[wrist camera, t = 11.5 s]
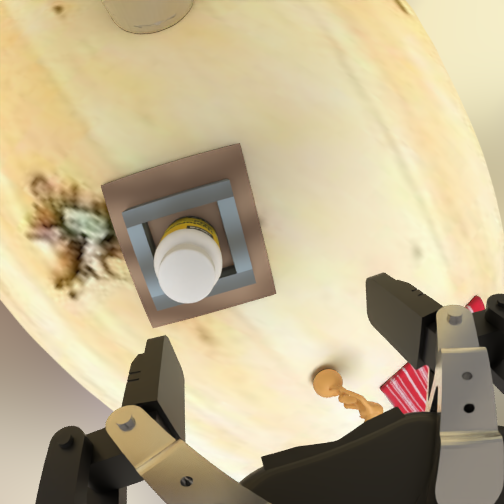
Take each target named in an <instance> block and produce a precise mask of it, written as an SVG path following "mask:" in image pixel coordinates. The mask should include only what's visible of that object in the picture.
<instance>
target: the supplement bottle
mask: <svg viewBox="0 0 504 504" xmlns="http://www.w3.org/2000/svg"><path fill="white" fill-rule="evenodd" d="M154 269H155V273H156V276H157V278H158V281H159V284H160V287H161V289H162V290H163V292H164V293H165V294H166V295H167V296H168V297H169V298H171V299H172V300H174V301H177V302H180V303H195V302H198V301H200V300H202V299H203V298H205V297H206V296H207V295H208V294H209V293H210V292H211V290H212V289H213V286H214V285H215V284H216V283H217V281H218V279H219V277H220V275H221V271H222V255H221V250H220V245H219V241H218V237H217V233H216V231H215V230H214V228H213V227H212V225H211V224H210V223H209V222H207V221H206V220H204V219H202V218H200V217H197V216H184V217H181V218H179V219H177V220H175V221H174V222H172V223H171V224H170V225H169V227H168V228H167V230H166V231H165V233H164V235H163V237H162V239H161V241H160V243H159V245H158V247H157V249H156V252H155V255H154Z"/></svg>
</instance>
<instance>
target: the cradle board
mask: <svg viewBox="0 0 504 504" xmlns="http://www.w3.org/2000/svg"><path fill="white" fill-rule="evenodd" d="M101 188H102V191H103V195H104V198H105V201H106V205H107V208H108V211H109V214H110V218H111V221H112V224H113V227H114V230H115V233H116V236H117V239H118V241H119V244H120V247H121V250H122V253H123V256H124V258H125V261H126V264H127V266H128V269H129V272H130V274H131V277H132V279H133V282H134V285H135V287H136V290H137V292H138V294H139V297H140V299H141V302H142V304H143V307H144V309H145V311H146V314H147V316H148V318H149V321H150V323H151V325H152V327H153V328H156V327H159V326H163V325H167V324H171V323H175V322H179V321H182V320H186V319H190V318H194V317H197V316H201V315H205V314H208V313H212V312H215V311H219V310H222V309H226V308H229V307H233V306H236V305H240V304H243V303H247V302H250V301H254V300H257V299H260V298H264V297H267V296H270V295H274V294H276V290H275V286H274V281H273V277H272V273H271V269H270V264H269V260H268V256H267V252H266V248H265V244H264V239H263V235H262V231H261V227H260V223H259V219H258V215H257V210H256V206H255V202H254V198H253V194H252V190H251V186H250V182H249V178H248V174H247V170H246V166H245V162H244V158H243V154H242V150H241V146H240V143H239V144H234V145H230V146H226V147H222V148H219V149H215V150H211V151H207V152H204V153H200V154H196V155H193V156H189V157H186V158H182V159H179V160H176V161H172V162H169V163H166V164H162V165H159V166H156V167H153V168H150V169H147V170H144V171H141V172H138V173H135V174H132V175H129V176H126V177H123V178H120V179H118V180H115V181H112V182H109V183H107V184H104V185H101ZM184 216H197V217H200V218H202V219H204V220H206V221H207V222H209V223H210V224H211V225H212V227H213V228H214V230H215V231H216V233H217V237H218V241H219V245H220V250H221V255H222V271H221V275H220V277H219V279H218V281H217V283H216V284H215V285H214V286H213V289H212V290H211V292H210V293H209V294H208V295H207V296H206V297H205V298H203V299H202V300H200V301H198V302H195V303H180V302H177V301H174V300H172V299H171V298H169V297H168V296H167V295H166V294H165V293H164V292H163V290H162V289H161V287H160V284H159V281H158V278H157V276H156V273H155V269H154V255H155V252H156V249H157V247H158V245H159V243H160V241H161V239H162V237H163V235H164V233H165V231H166V230H167V228H168V227H169V225H170V224H171V223H172V222H174V221H175V220H177V219H179V218H181V217H184Z"/></svg>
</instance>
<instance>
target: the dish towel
mask: <svg viewBox="0 0 504 504" xmlns="http://www.w3.org/2000/svg"><path fill="white" fill-rule="evenodd" d="M465 308H467V309H469V310H470V311H471V313H473V312H477V311H481V310H485V307H484V304H483V302H482V300H481V298H480V297H478V296H476V297H474V298H473V299H472V300H471V302H470V303H469V304H468V305H467V306H466V307H465ZM428 370H429V367H428V366H427V365H425V366H423V367H421V368H419V369H417V370H415V369H414V368H413V367H412V365H411V364H410V363H409V362H408V363H407V364H406V365H405V366H404V367H402V368H401V369H400V370H399V371H398V372H397V373H396V374H395V375H394V376H392V377H391V378H390V379H389V380H388V381H387V382H386V383H385V384H384V385H383V386H382V387H381V391H382V392H383V393H384V394H385V396H386V397H387V398H388V400H389V401H390V402H391V404H392V405H393V407H394V408H395V407H397V406H398V407H399V409H400V410H401V411H402V413H403V414H405V413H411V412H421V411H422V412H425V409H426V397H427V380H428Z"/></svg>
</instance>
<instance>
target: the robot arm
mask: <svg viewBox="0 0 504 504" xmlns="http://www.w3.org/2000/svg"><path fill="white" fill-rule="evenodd" d="M101 1H102V2H103V4H104V6H105V8H106V9H107V11H108V13H109V14H110V16H111V17H112V19H113V21H114V22H115V23H116V24H117V25H118V26H119V27H120V28H122V29H123V30H125V31H128V32H131V33H139V34H142V33H152V32H157V31H160V30H163V29H166V28H168V27H170V26H172V25H174V24H176V23H177V22H178V21H179V20H181V19H182V18H183V17H184V16H185V15H186V14H187V13H188V11H189V10H190V8H191V6H192V4H193V1H194V0H101ZM366 300H367V315H368V318H369V321H370V323H371V324H372V325H373V326H374V328H375V329H376V330H377V331H378V332H379V333H380V334H381V335H382V336H383V337H384V338H385V339H386V340H387V341H388V342H389V343H390V344H391V345H392V346H393V347H394V348H395V349H396V350H397V351H398V352H399V353H400V354H401V355H402V356H403V357H404V358H405V359H406V360H407V361H408V362H409V363H410V364H411V365H412V367H413V368H414V369H415V370H417V369H419V368H421V367H423V366H425V365H427V366H428V367H429V370H428V380H427V397H426V409H425V412H422V411H421V412H411V413H405V414H403V413H402V411H401V410H400V409H399V407H398V406H397V407H395V408H393V409H391V410H389V411H386V412H384V413H382V414H380V415H378V416H376V417H373V418H371V419H369V420H367V421H366V422H364V423H363V424H361V425H360V426H359V427H357V428H356V429H354V430H353V431H351V432H350V433H348V434H347V435H345V436H344V437H342V438H341V439H339V440H337V441H334V442H328V443H321V444H314V445H306V446H298V447H294V448H291V449H287V450H284V451H281V452H277V453H274V454H270V455H266V456H262V457H261V458H262V462H263V467H261V468H259V469H257V470H256V471H254V472H252V473H251V474H249V475H248V476H247V477H245V478H244V479H243V480H242V481H240V482H239V483H238V482H237V481H235V480H234V479H232V478H231V477H229V476H228V475H227V474H225V473H224V472H222V471H221V470H220V469H218V468H217V467H216V466H214V465H213V464H212V463H210V462H209V461H208V460H206V459H205V458H204V457H202V456H201V455H200V454H199V453H197V452H196V451H195V450H194V449H192V448H191V447H190V446H189V445H188V444H186V443H185V400H184V375H183V371H182V368H181V366H180V363H179V361H178V359H177V357H176V354H175V352H174V350H173V347H172V345H171V343H170V341H169V338H168V337H167V336H166V335H165V336H160V337H156V338H152V339H148V340H147V343H146V348H145V352H144V353H143V354H138V355H137V357H136V358H135V359H134V361H133V362H132V363H131V367H130V371H129V374H130V375H129V376H128V380H127V381H128V382H127V384H126V389H125V393H124V398H123V402H122V407H121V408H119V409H117V410H115V411H114V412H113V413H112V414H111V415H110V416H109V417H108V419H107V421H106V427H105V428H103V429H101V430H98V431H95V432H92V433H90V434H87V435H85V434H84V432H83V431H82V430H81V429H80V428H78V427H76V426H68V427H64V428H62V429H61V430H59V431H58V432H56V433H55V435H54V436H53V437H52V439H51V441H50V445H49V448H48V452H47V456H46V460H45V463H44V467H43V471H42V476H41V480H40V484H39V489H38V494H37V498H36V504H126V503H127V501H126V500H127V486H129V485H132V484H135V483H137V482H140V481H143V480H145V481H146V482H147V483H148V484H149V486H150V487H151V488H152V489H153V490H154V491H155V492H156V493H157V494H158V495H159V496H160V498H161V499H162V500H163V501H164V502H165V503H166V504H504V427H503V426H498V425H497V416H496V404H495V396H494V388H493V384H494V385H495V386H496V387H497V388H498V389H499V390H500V391H501V392H502V393H503V394H504V294H495V295H492V296H490V297H489V298H488V300H487V304H486V309H485V310H481V311H477V312H473V313H471V311H470V310H469V309H467V308H465V307H463V306H460V305H448V306H444V307H443V306H442V305H440V304H439V303H437V302H436V301H435V300H433V299H432V298H430V297H429V296H427V295H426V294H423V292H421V291H420V290H417V288H415V287H414V286H412V285H411V284H409V283H407V282H403V281H400V280H395V279H393V278H392V277H390V276H389V275H387V274H386V273H380V274H378V275H375V276H372V277H369V278H367V279H366Z"/></svg>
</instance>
